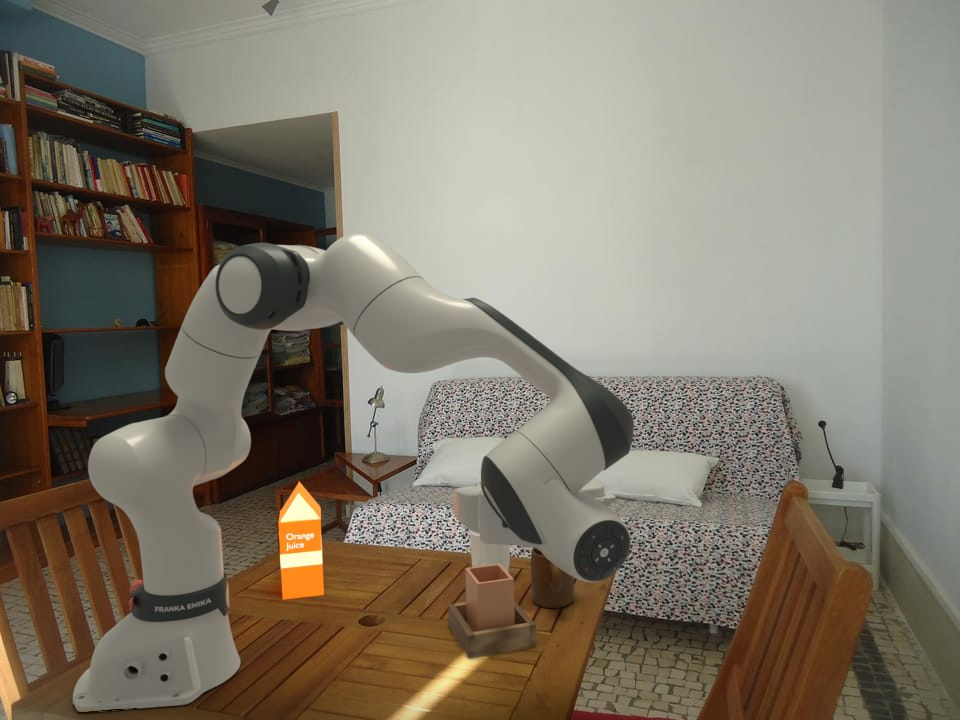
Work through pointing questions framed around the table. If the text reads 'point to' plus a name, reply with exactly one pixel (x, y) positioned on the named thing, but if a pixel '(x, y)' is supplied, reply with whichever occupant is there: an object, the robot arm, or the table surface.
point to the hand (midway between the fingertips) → (511, 484)
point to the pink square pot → (489, 597)
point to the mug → (549, 582)
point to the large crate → (491, 633)
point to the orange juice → (301, 546)
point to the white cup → (488, 552)
